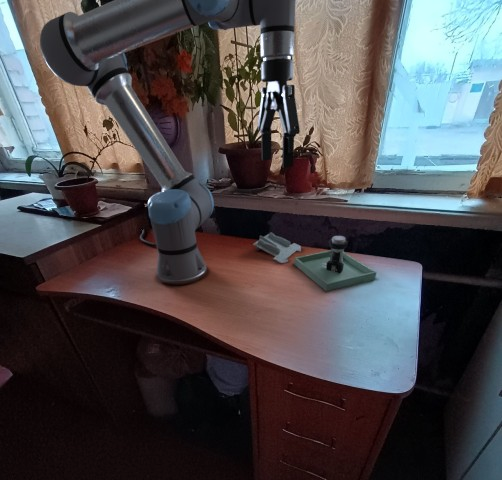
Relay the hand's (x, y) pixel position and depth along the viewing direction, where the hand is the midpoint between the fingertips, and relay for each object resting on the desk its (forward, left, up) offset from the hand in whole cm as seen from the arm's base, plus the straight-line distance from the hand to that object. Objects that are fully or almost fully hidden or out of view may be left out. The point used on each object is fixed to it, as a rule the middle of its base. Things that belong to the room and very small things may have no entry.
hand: (276, 163), depth 85 cm
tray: (+14, +13, -29) cm, 34 cm away
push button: (+14, +13, -28) cm, 34 cm away
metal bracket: (-7, +3, -29) cm, 30 cm away
